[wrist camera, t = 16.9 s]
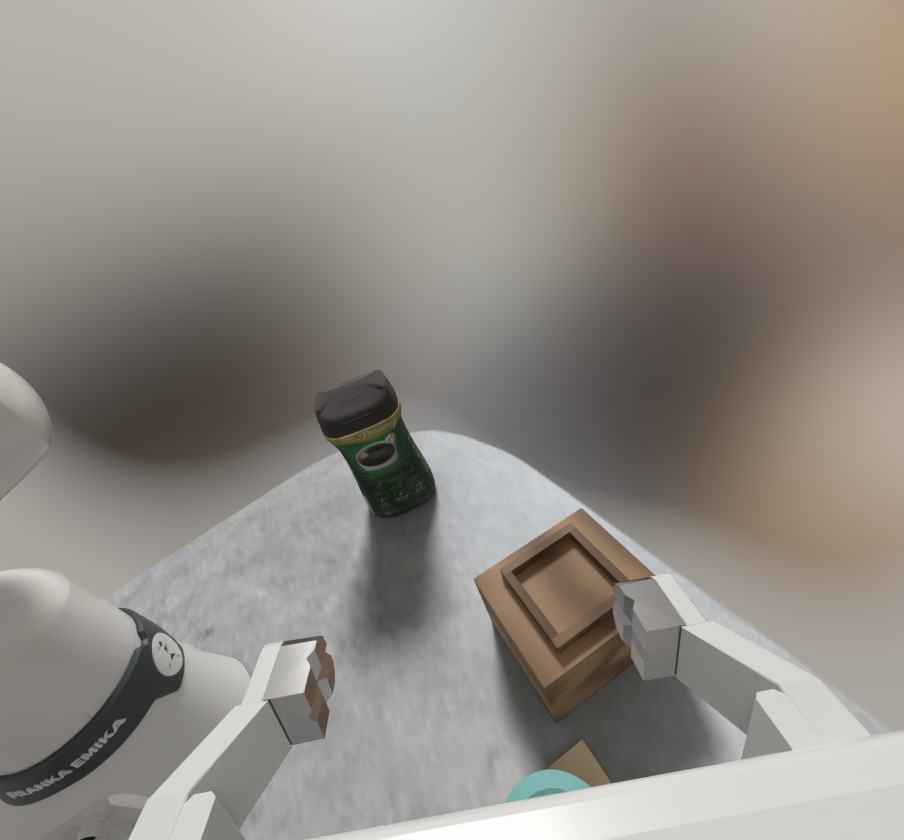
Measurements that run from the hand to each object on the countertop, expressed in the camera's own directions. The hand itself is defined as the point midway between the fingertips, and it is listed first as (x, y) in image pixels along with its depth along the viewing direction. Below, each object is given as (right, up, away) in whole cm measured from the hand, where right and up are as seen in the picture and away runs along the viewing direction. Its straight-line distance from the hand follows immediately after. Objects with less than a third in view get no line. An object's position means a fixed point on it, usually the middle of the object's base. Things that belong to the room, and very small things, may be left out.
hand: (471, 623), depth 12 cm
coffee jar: (-7, -5, +46) cm, 47 cm away
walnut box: (+11, -14, +27) cm, 33 cm away
